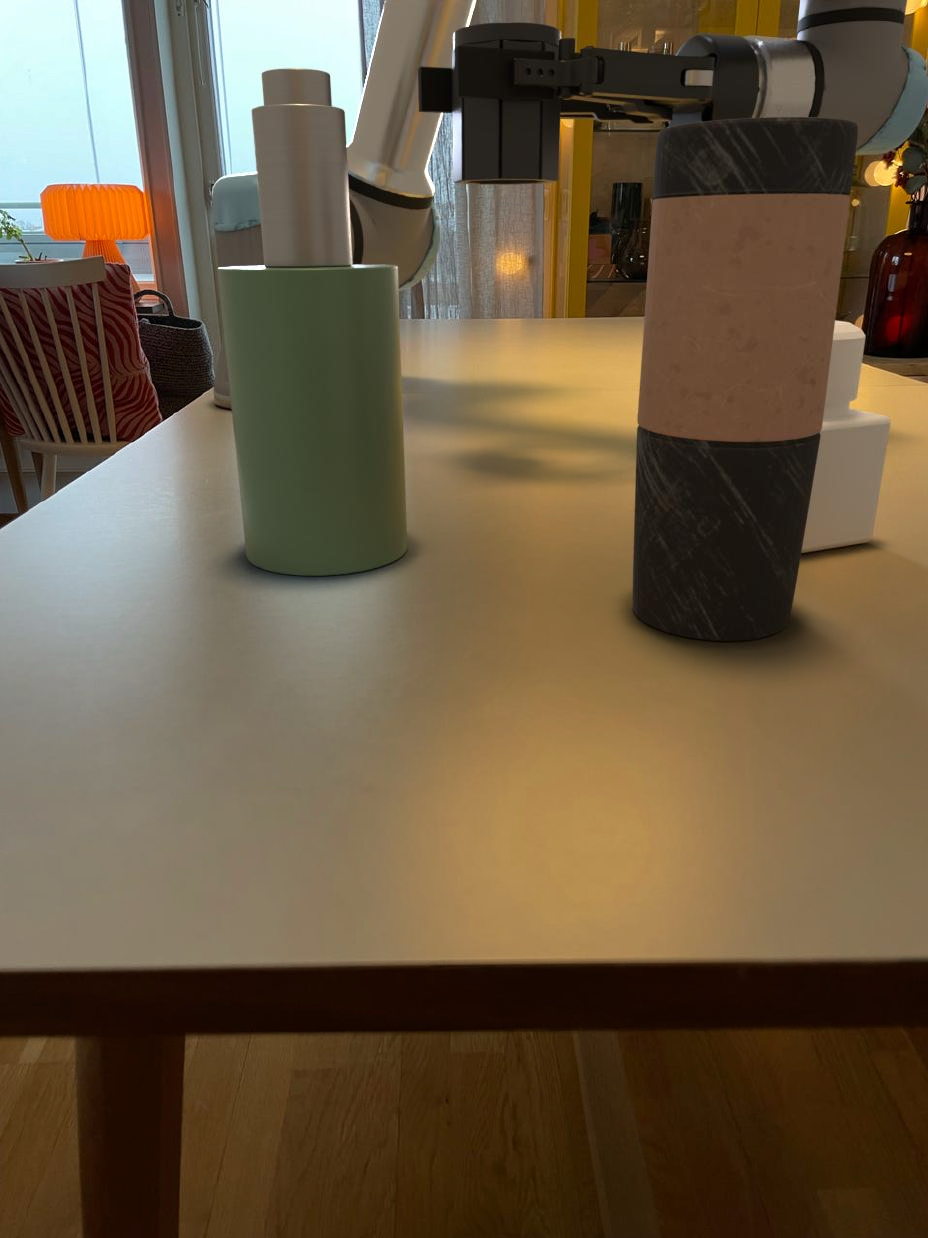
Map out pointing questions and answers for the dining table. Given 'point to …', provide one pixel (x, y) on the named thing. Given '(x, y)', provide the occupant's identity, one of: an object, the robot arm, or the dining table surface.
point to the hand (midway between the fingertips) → (437, 80)
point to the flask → (313, 354)
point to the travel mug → (735, 367)
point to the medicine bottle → (846, 454)
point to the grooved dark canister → (506, 117)
